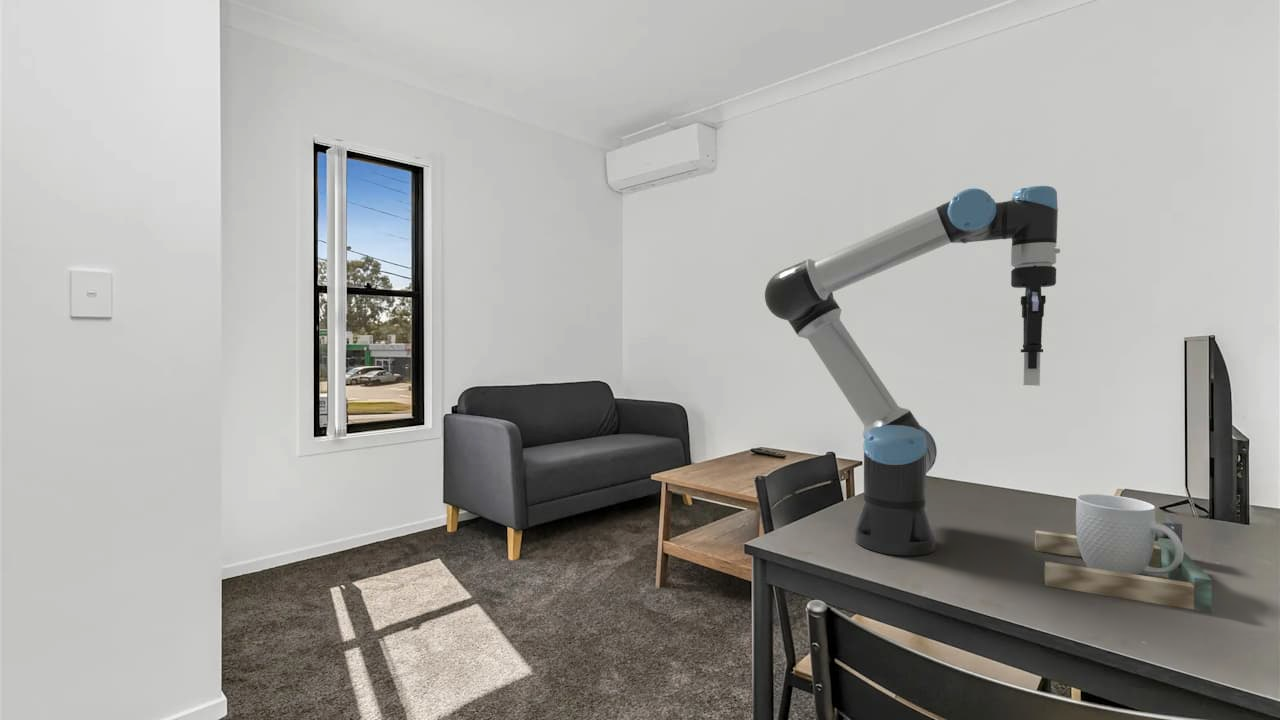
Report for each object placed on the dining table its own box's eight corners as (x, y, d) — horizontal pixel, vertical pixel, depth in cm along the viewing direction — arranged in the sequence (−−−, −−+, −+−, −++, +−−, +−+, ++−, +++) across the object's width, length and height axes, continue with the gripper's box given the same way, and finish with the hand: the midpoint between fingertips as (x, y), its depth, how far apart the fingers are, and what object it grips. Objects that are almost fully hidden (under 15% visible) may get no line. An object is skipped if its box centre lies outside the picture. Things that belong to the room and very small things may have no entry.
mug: (1192, 585, 102) (1194, 508, 102) (1170, 601, 96) (1172, 520, 96) (1089, 558, 115) (1090, 490, 114) (1063, 571, 108) (1065, 499, 108)
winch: (1128, 558, 115) (1129, 519, 114) (1121, 548, 120) (1122, 510, 120) (1183, 565, 111) (1184, 525, 111) (1174, 555, 116) (1175, 516, 116)
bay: (1045, 585, 102) (1046, 556, 102) (1034, 547, 121) (1035, 522, 120) (1210, 612, 92) (1211, 580, 92) (1171, 566, 111) (1172, 539, 110)
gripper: (1060, 262, 113) (1057, 388, 114) (1052, 268, 124) (1050, 383, 125) (1013, 264, 117) (1011, 386, 117) (1009, 271, 128) (1007, 382, 129)
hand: (1031, 384), depth 121 cm, fingers closed
